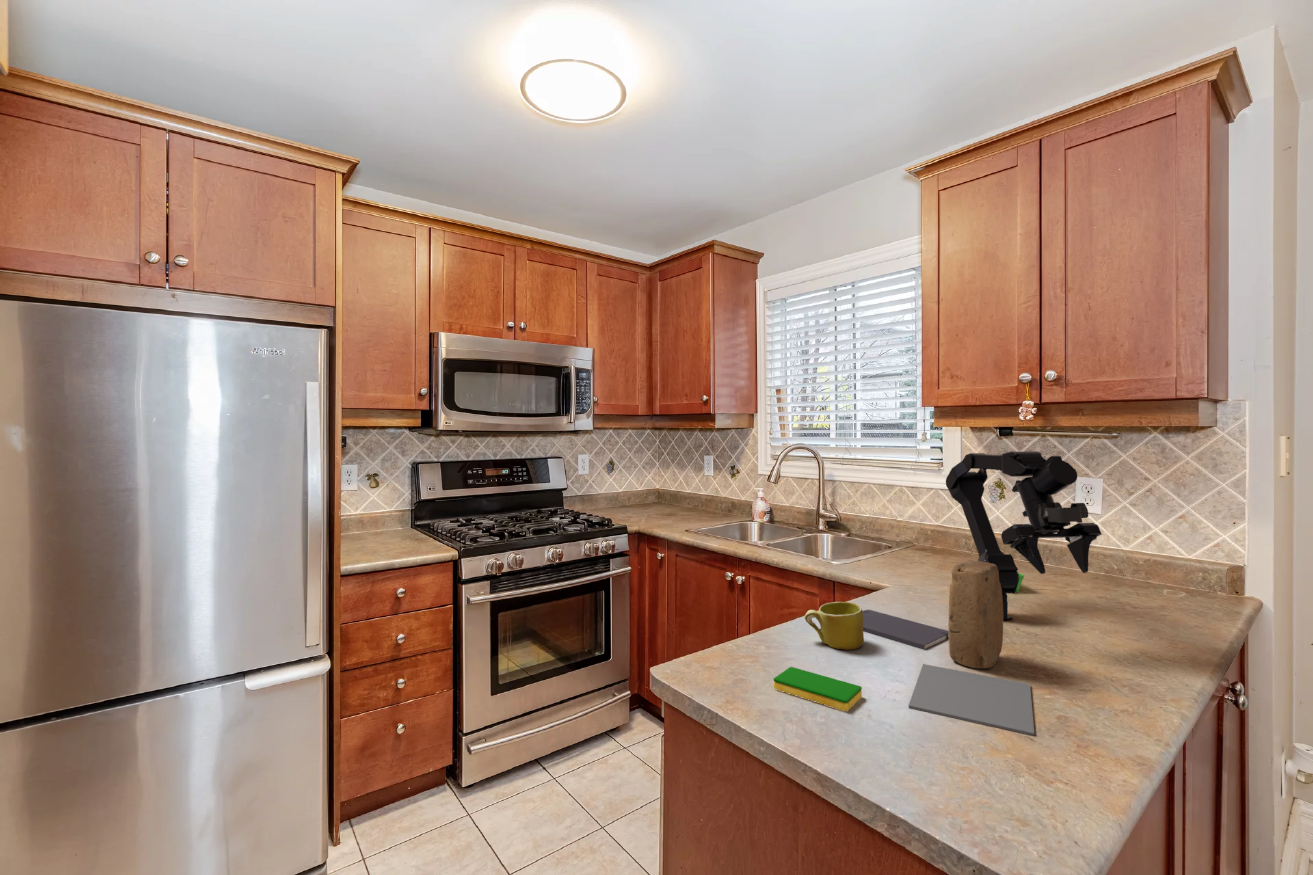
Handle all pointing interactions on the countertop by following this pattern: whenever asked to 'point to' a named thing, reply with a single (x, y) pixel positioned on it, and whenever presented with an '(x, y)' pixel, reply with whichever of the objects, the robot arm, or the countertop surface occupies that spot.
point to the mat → (974, 698)
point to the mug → (839, 624)
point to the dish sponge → (818, 688)
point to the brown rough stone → (975, 614)
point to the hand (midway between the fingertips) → (1064, 572)
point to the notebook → (902, 630)
